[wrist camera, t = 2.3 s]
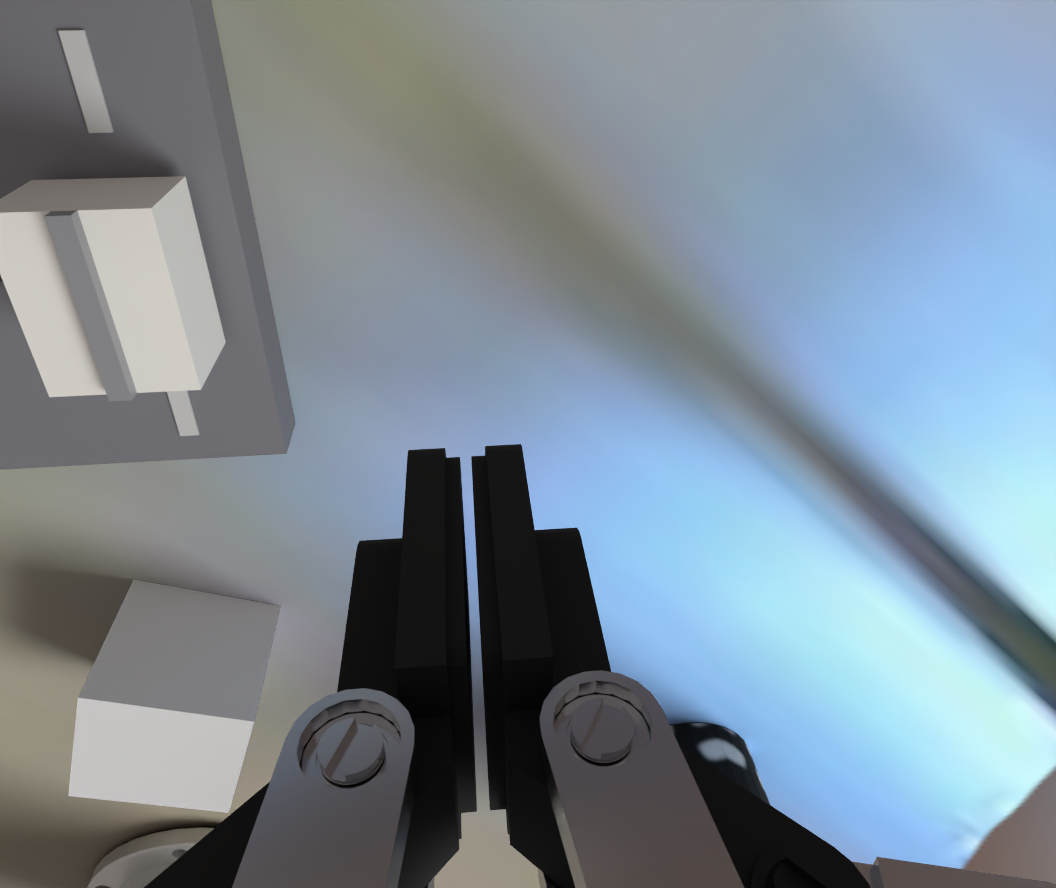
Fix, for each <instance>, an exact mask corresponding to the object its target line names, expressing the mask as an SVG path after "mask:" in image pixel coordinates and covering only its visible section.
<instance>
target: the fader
mask: <svg viewBox="0 0 1056 888" xmlns="http://www.w3.org/2000/svg"><path fill="white" fill-rule="evenodd" d="M0 275H1V278H2V280H3V283H4V285H5V288H6V290H7V293H8V295H9V298H10V300H11V303H12V305H13V308H14V310H15V313H16V315H17V318H18V320H19V323H20V325H21V328H22V330H23V333H24V335H25V338H26V340H27V343H28V345H29V348H30V350H31V353H32V355H33V358H34V360H35V363H36V365H37V368H38V370H39V373H40V375H41V378H42V380H43V383H44V385H45V388H46V390H47V393H48V395H49V397H65V396H85V395H106V394H107V397H108V400H109V401H128V400H133V398H134V397H135V395H136V394H137V393H147V392H168V391H188V390H201V389H202V387H203V385H204V383H205V381H206V379H207V377H208V375H209V373H210V371H211V369H212V368H213V366H214V364H215V362H216V360H217V358H218V356H219V354H220V352H221V350H222V348H223V347H224V345H225V343H226V342H225V337H224V333H223V329H222V325H221V321H220V317H219V313H218V309H217V304H216V300H215V296H214V292H213V288H212V284H211V280H210V276H209V271H208V267H207V263H206V259H205V255H204V251H203V247H202V243H201V238H200V234H199V230H198V226H197V222H196V218H195V214H194V210H193V205H192V201H191V197H190V193H189V189H188V185H187V181H186V177H185V176H172V177H133V178H95V179H56V180H31V181H29V182H28V183H26V184H24V185H23V186H21V187H19V188H18V189H16V190H14V191H13V192H11V193H9V194H8V195H6V196H4V197H2V198H1V199H0Z"/></svg>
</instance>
